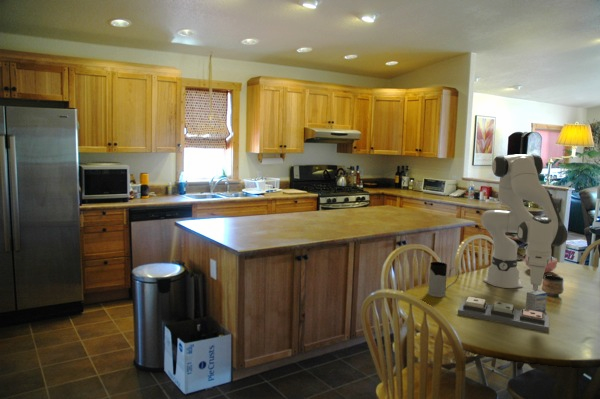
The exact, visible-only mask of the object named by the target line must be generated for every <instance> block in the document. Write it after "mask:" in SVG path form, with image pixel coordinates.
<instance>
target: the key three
mask: <svg viewBox="0 0 600 399" xmlns="http://www.w3.org/2000/svg"><path fill="white" fill-rule="evenodd" d="M522 309H523V316H526V317H532V318H537V319H542V313H543V312H538V311H532V310H527V309H526V308H522Z"/></svg>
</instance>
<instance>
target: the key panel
mask: <svg viewBox="0 0 600 399" xmlns="http://www.w3.org/2000/svg"><path fill="white" fill-rule="evenodd" d="M467 299H468V298H466V299H463V300H462V302H461V304H460V306H459V307H458V308H457V315H461V316H464V317H471V318H474V319H479V320H485V321H490V322H496V323H499V324H505V325H510V326H515V327H520V328H526V329H530V330H535V331H539V332H546V333H549V329H550V322H549V321H550V320H549V319H550V316H549V315H547V314H545V313H546V312H545V313H544V312H542V319H537V318H532V317H526V316H523V309H524V308H521V309H516V307H513V311H512V314H510V313H505V312H500V311H494V304H495V303H493V304H489V303H488V302H486V301H485V306H484V308H478V307H473V306H468V305H466V301H467Z"/></svg>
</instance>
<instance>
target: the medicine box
mask: <svg viewBox="0 0 600 399" xmlns="http://www.w3.org/2000/svg"><path fill="white" fill-rule="evenodd" d="M547 297H548V292H546V291H543V290H540V289H538V290H537V291H534V290H532V291H528V292H526V300H525V309H527V310H532V311H538V312H542V313H544V312H546V309H547V301H548V300H547V299H548V298H547Z"/></svg>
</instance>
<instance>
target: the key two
mask: <svg viewBox="0 0 600 399" xmlns="http://www.w3.org/2000/svg"><path fill="white" fill-rule="evenodd" d="M493 304H494V311H500V312H505V313H510V314H512V311H513V308H514V304H512V303H507V302H506V303H505V302H501V301H496V300H495V302H494V303H493Z"/></svg>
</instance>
